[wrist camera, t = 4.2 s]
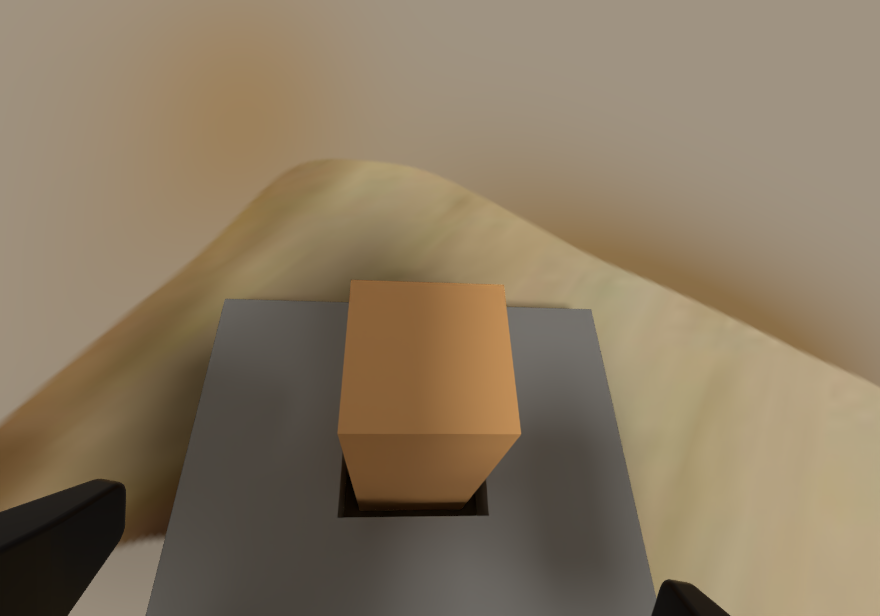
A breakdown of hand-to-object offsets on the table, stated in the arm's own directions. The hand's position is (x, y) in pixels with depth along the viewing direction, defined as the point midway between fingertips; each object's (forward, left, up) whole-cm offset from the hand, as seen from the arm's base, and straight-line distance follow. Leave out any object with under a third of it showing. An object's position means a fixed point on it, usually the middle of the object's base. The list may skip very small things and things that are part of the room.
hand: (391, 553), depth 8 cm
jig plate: (+4, -1, -11) cm, 12 cm away
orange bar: (+4, -1, -11) cm, 12 cm away
